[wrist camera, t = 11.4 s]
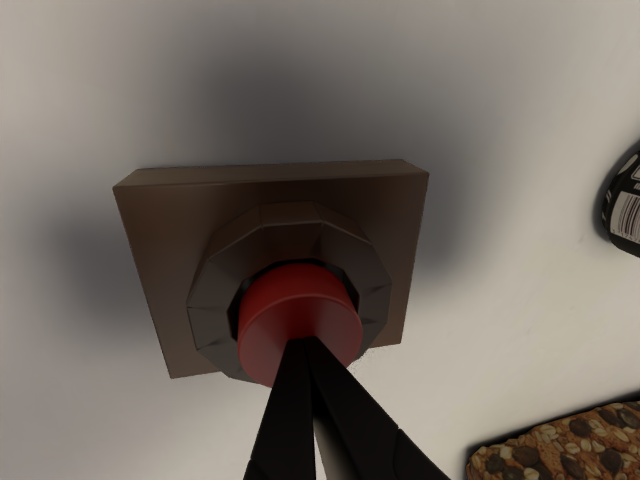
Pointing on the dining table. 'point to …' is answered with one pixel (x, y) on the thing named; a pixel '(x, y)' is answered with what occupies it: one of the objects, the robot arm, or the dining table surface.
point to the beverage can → (624, 208)
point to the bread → (568, 449)
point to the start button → (294, 317)
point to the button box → (268, 246)
